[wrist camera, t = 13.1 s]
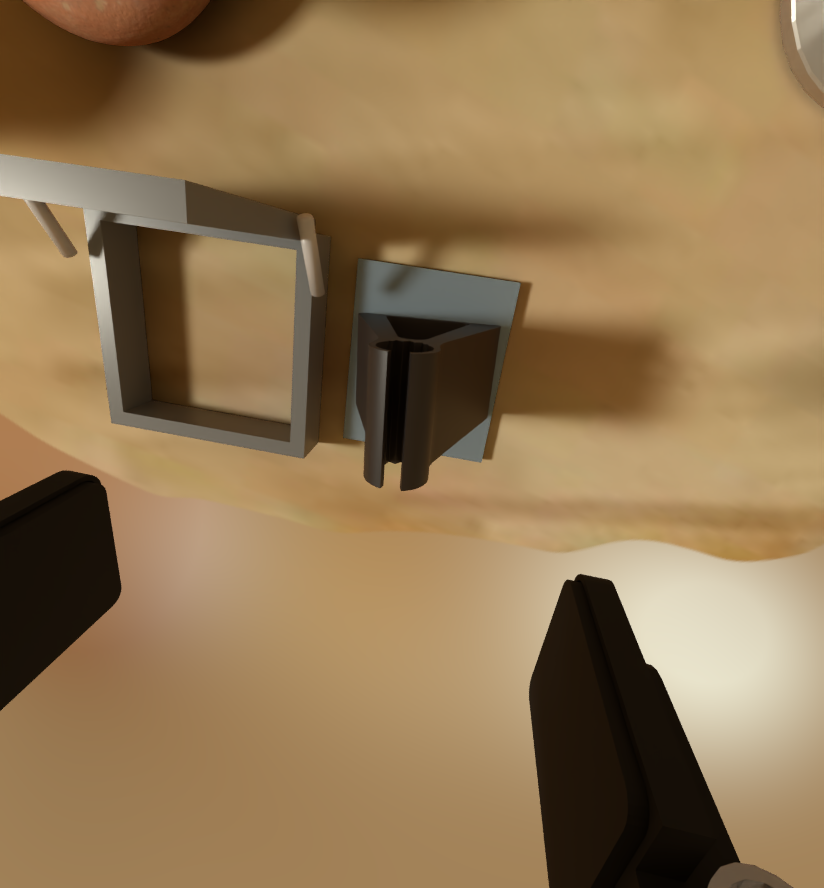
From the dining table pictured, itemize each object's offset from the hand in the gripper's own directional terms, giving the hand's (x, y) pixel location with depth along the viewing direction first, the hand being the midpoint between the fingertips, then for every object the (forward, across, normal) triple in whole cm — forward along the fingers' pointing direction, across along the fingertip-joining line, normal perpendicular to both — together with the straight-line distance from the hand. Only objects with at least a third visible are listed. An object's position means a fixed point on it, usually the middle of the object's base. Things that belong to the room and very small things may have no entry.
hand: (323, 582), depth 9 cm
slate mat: (+22, +1, +1) cm, 23 cm away
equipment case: (+22, +15, +1) cm, 27 cm away
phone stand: (+22, 0, 0) cm, 22 cm away
